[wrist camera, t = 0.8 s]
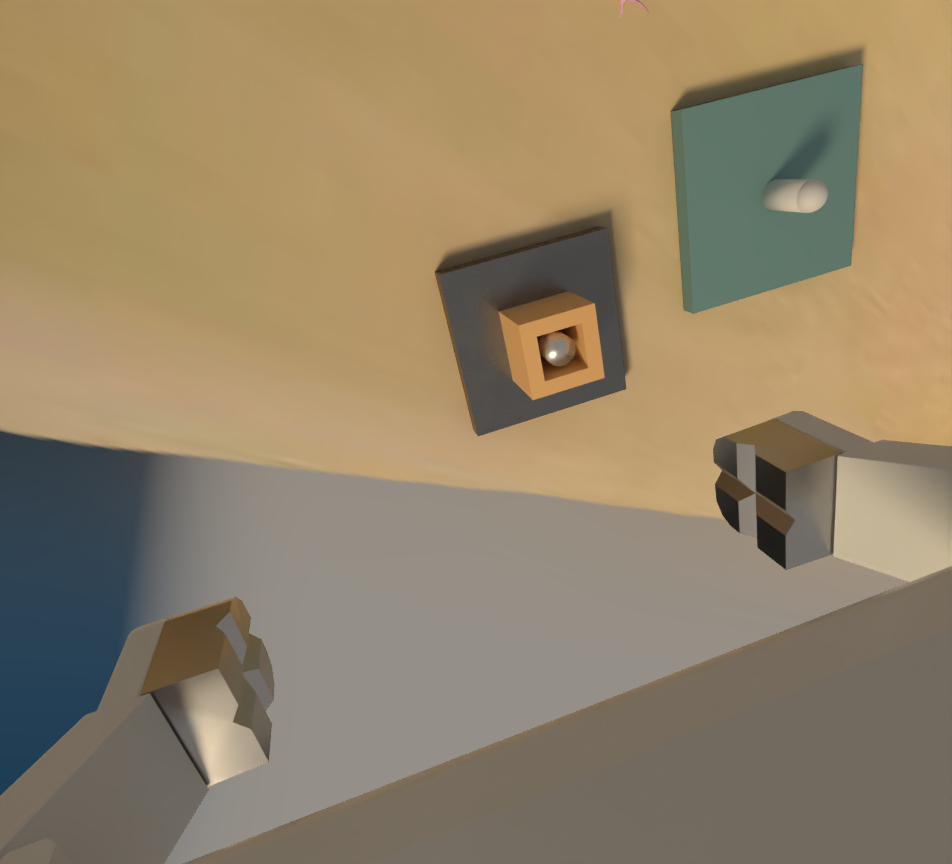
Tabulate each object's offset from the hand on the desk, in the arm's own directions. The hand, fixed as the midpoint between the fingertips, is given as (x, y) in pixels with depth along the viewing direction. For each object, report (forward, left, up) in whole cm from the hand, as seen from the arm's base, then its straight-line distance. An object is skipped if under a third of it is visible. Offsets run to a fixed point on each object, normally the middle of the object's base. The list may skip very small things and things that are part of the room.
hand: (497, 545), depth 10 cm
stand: (+10, +13, -39) cm, 42 cm away
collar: (+10, +13, -38) cm, 41 cm away
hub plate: (+4, +35, -39) cm, 53 cm away
